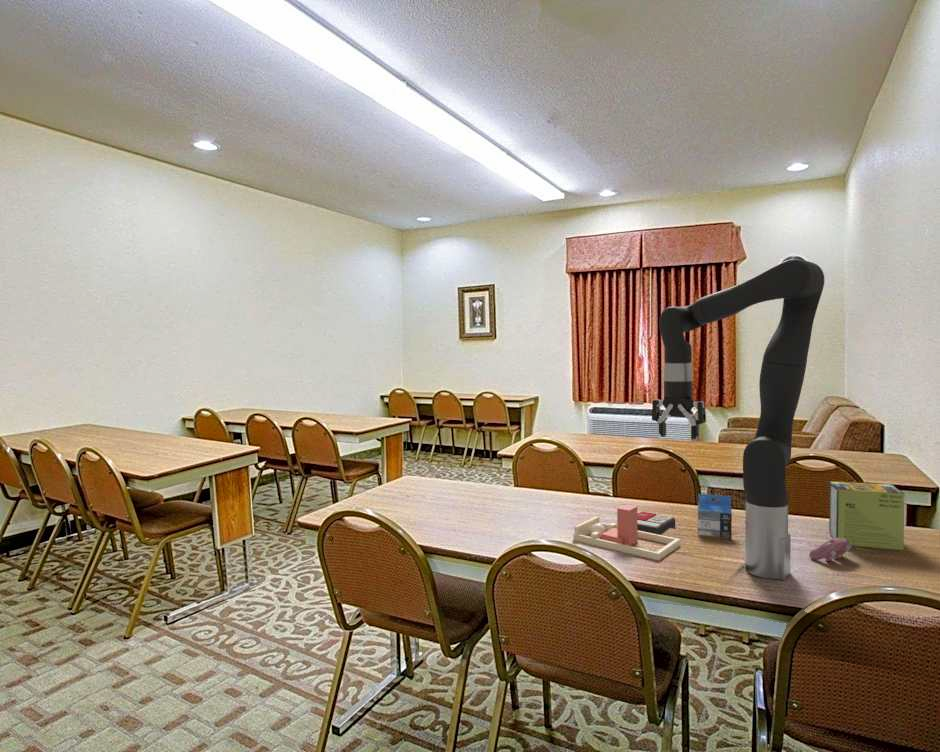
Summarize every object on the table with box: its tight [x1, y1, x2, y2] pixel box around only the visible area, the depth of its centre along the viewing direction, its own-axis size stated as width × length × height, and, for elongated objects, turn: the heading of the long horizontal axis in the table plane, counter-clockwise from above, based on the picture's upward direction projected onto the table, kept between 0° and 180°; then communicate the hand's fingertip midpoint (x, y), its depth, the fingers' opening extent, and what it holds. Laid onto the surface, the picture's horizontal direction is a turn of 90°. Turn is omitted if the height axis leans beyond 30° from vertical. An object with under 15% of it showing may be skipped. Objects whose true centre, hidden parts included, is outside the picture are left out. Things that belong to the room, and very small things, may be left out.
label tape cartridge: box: [697, 493, 733, 541], centre depth 164 cm, size 9×4×12 cm, turn 68°
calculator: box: [637, 511, 676, 535], centre depth 173 cm, size 11×4×15 cm
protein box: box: [828, 481, 906, 551], centre depth 159 cm, size 10×15×16 cm
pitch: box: [572, 515, 681, 561], centre depth 159 cm, size 25×14×5 cm, turn 48°
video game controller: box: [809, 537, 853, 562], centre depth 147 cm, size 10×5×7 cm, turn 115°
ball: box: [591, 523, 606, 538], centre depth 164 cm, size 4×4×4 cm
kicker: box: [601, 503, 639, 547], centre depth 159 cm, size 8×7×10 cm
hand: (678, 437), depth 158 cm, fingers open, 8 cm apart
